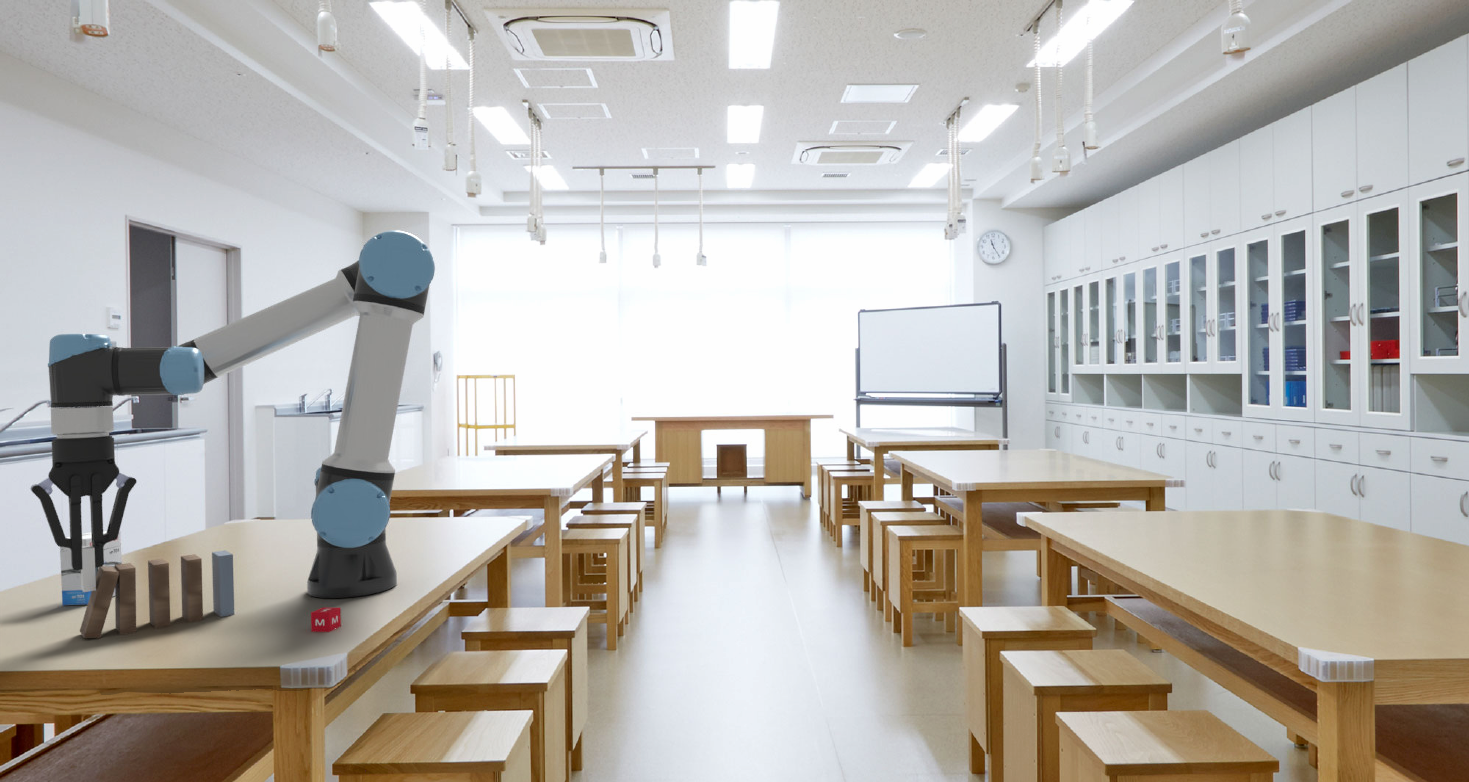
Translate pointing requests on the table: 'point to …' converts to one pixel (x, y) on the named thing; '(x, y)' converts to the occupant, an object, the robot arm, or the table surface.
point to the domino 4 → (223, 583)
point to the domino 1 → (125, 599)
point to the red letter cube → (325, 619)
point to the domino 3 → (191, 588)
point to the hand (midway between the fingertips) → (88, 589)
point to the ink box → (72, 577)
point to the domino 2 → (159, 593)
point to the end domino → (99, 602)
